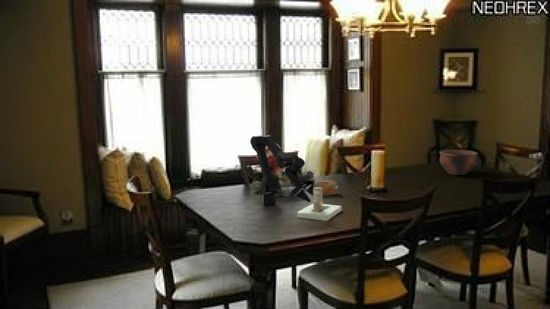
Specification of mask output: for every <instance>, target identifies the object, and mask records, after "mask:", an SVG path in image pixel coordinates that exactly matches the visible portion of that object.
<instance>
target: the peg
mask: <svg viewBox="0 0 550 309" xmlns="http://www.w3.org/2000/svg"><path fill="white" fill-rule="evenodd" d="M312 200H313V203H312V204H313V205H314V211H316V212H322V211H323V210H322V204H323V196H322V188H321V187H315V188H313V199H312Z"/></svg>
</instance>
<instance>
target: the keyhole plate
mask: <svg viewBox="0 0 550 309" xmlns="http://www.w3.org/2000/svg"><path fill="white" fill-rule="evenodd" d="M340 212H342V205H336V204H335V205H334V204H325V203H322V212H316V211H314V205H313V203H311V204H309V205H308V206H306V207H304V208H302V209H301V210H299V211H298V212H297V213H296V215H297V216H296V217H297V218H301V219H309V220H310V219H311V220H318V221H324V222H325V221H326V222H327V221H329V220H330V219H332V218H333V217H335V216H336V215H337V214H339V213H340Z"/></svg>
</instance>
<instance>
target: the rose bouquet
mask: <svg viewBox="0 0 550 309" xmlns="http://www.w3.org/2000/svg"><path fill="white" fill-rule="evenodd" d="M275 143H276V144H277V145H278V146H279V148H280V149H281V147H280V145H279V144H278V143H277V142H275ZM265 151H266V155H267V159H268V163H269V166H270V170H271V174H272V176H273V177H276V178H277V182H278V189H277V193H274V196H275V197H288V196H290V194H291V191H292V190H293V189H294V188H295V186H294V187H293V186H289V187H282V186H281V184H280V180H281V181H282V182H283V183H285V184H286V185H288V184H290V182H291V181H290V180H289V178H288V177H287V176H286V175H284V176H282V170H284V169H286V168H287V167H285V168H280V167H279V166H278V164H277V163H276V158H275V156H274V155H273V154H272V152H271V151H270V150H269V149H268V147H267V146H266V149H265ZM254 157H255V159H256V160H257V162H258V163H259V160H258V156H257V154H255V155H254ZM255 168H260V165H255V166H253V167H252V169H255ZM260 169H261V168H260ZM255 184H256V186H253V188H251V189H250V191H249V195H251V194H252V195H251V196H255V195H254V194H258V195H257V196H261V197H262V195H261V194H260V193H259V190H260V188H261V187H262V182H260V181H255Z"/></svg>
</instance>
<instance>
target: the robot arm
mask: <svg viewBox="0 0 550 309" xmlns="http://www.w3.org/2000/svg"><path fill="white" fill-rule="evenodd" d="M276 143H277V142H275V140H274V139H273V136H272V135H263V134H261V135H253V136H251V138H250V145H251V148H252V150H254V151H255V153H256V155H257V156H258V160H259V162H258V164H259V166H260V171H261V176H262V180H261V183H262V187H261V188H260V190H259V193H260V194H261V195H262V196H261V197H262V198H261V199H262V200H261V201H262V202H261V205H262V206H264V207H270V206H276V196H274V193H277V189H278V182H277V178H276V177H273V176H272V174H271V170H270V166H269V163H268V159H267V155H266V151H265V149H266V146H267V147H268V149H269V150H270V151H271V152H272V154H273V155H274V156H275V158H276V163H277V164H278V166H279V167H280V168H285V167H287V168H286V169H284V170H282V176H284V175H286V176H287V177H288V178H289V180H290V181H289V184H291V185H293V186H294V187H295V188H294V189H293V190H292V191H291V193H290V195H291V196H292V197H295V198H299V199H300V200H304V201H306V202H308V203H311V202H312V200H311V198H310V197H309V196H308V195H307V193H308V194H310V195H311V196H313V188H314V186H315V184H316V181H315V179H314V178H315V176H314V175H315V172H313V171H312V170H309V171H306V174H301V173H299V172H300V171H301V169H303V168H304V166H305V165H306V163H305V162H306V161H305V160H304V159H303V158H302V157H301V156H299V155H294V156H293V157H292V156H290V154H288V153H286V152H284V151H283V150H282V149H281V147H280V145H279V144H278V143H277V144H276ZM278 145H279V146H278ZM279 147H280V148H279ZM258 160H257V161H258ZM306 192H307V193H306Z"/></svg>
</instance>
